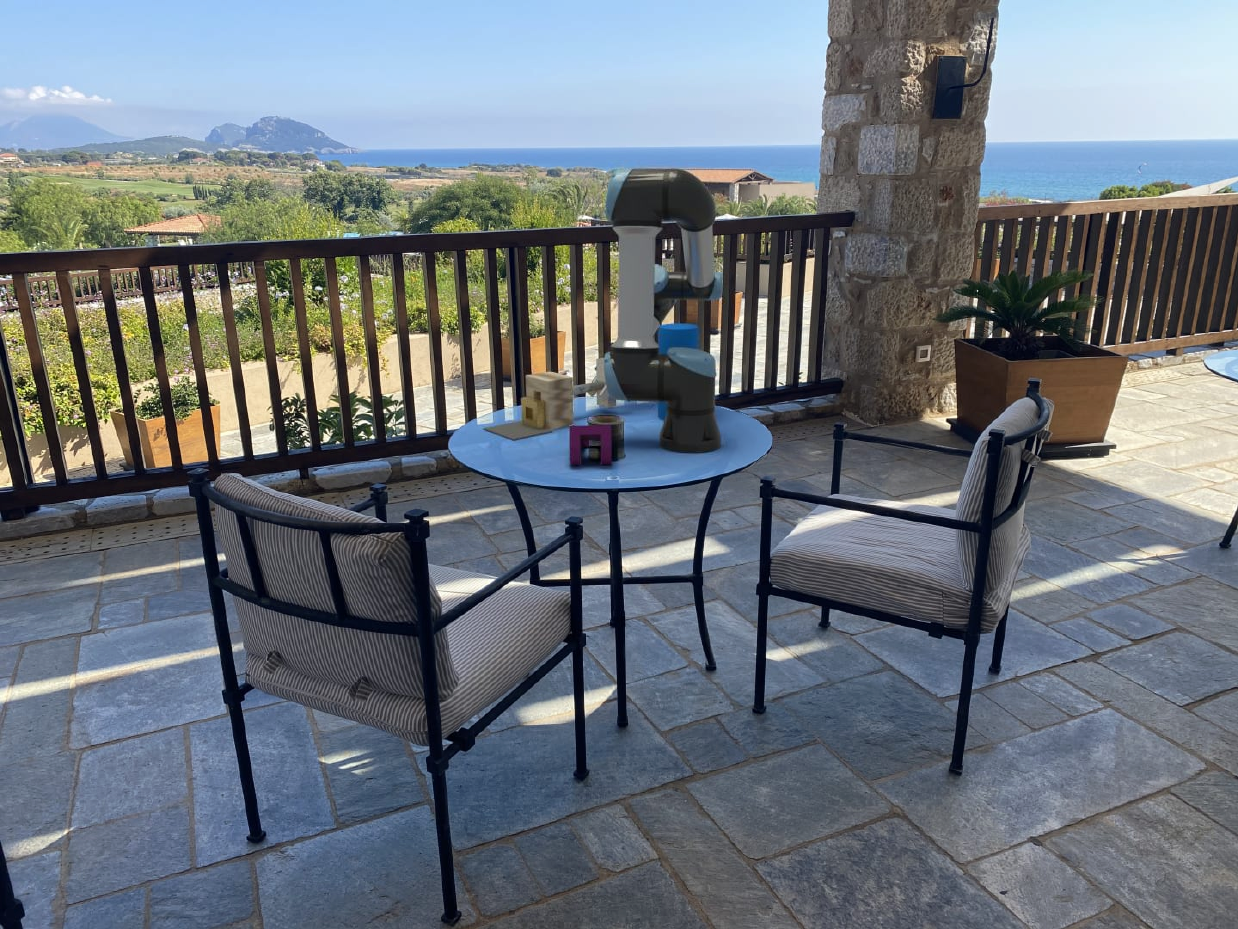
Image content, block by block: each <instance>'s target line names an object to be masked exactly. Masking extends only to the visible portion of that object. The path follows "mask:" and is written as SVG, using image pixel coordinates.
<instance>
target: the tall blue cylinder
mask: <svg viewBox="0 0 1238 929" xmlns="http://www.w3.org/2000/svg"><path fill="white" fill-rule="evenodd" d="M699 335H700V331H699V326H698V325H697V324H692V323H665V324H661V325H660V326H659V327H658V332H657V344H658V345H659V354H667V351H668V349H669V348H673V347H678V348H680V347H684V348H692V349H697V350H699V343H700V342H699V338H700V336H699ZM666 414H667V402H657V418H658V417H659V418H660V419H659V418H658V419H659V420H661V419H662V420H661V421H663V420H665V417H666Z"/></svg>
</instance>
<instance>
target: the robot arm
mask: <svg viewBox="0 0 1238 929" xmlns="http://www.w3.org/2000/svg"><path fill="white" fill-rule="evenodd" d="M606 191H607V192H606V197H605V198H606V199H605V217H606V220H607V221H609V222H610V223H611V222H612V229H613V231H614V232H615V233H616V234H617V235H618V280H617V282H618V283H617V284H618V289H617V290H618V291H617V292H618V295H617V298H618V300H617V303H618V304H617V339H616V340H615V341H614V342H610V344H609V346H608V349H607V350H606V352H604V354H603V355H602V357H601V358H604V374H605V382H606V385H605V387H604V388H603V390H602V391H601V393H600V394H599V395H600V396H601V397H602V398H603V399H604V400H605V401H606V400H607V399H608V398H609V396H611V397H612V398H613V399H615V400H616V401H625V402H629V403H630V402H647V403H648V402H652V403H653V402H654V403H658V402H667V414H666V417H665V420H664V421H663V424H662V427H661V429H660V431H659V432H660V433H659V435H658V436H659V438H658V440H659V446H660V447H662V448H663V449H665V450H669V451H672V452H679V453H706V452H710V451H715V450H716V449H719V448H720V447H721V446H722V445H721V444H722V434H721V432H720V428H719V424H718V421H717V418H716V414H715V412H716V377H717V375H718V374H717V368H716V367H717V366H716V365H717V364H716V359H715V356H714V355H713V354H711V353H709V352H707V351H704V350H701V349H698V350H697V349H692V348H684V347H680V348H678V347H673V348H669V349H668V351H667V354H659V345H658V342H656V340H654V335H655V334H656V332H657V330H659V326H660V325H662V323H663V322H664V321H665V319H666V317H667V316H668V315H669V313H670V312H671V310H672V309H673V308H674V307H675V304H676V302H677V301H678V300H679V301H706V302H708V301H719V300H720V299H721V298H722V297H723V287H724V284H723V283H724V282H723V281H724V278H723V276H724V275H723V273H722V272H717V271H715V255H714V254H715V253H714V238H713V237H714V236H713V235H714V234H713V225H714V223H715V220H716V215H717V210H716V209H717V208H716V203H715V200H714V198H713V195H712V193H711V192H710V189H709V188H708V187H707V186H706V185H705V183H704V182H703V181H701V179H700V178H699V177H697V176H696V175H694V174H693V173H691V172H689V171H688V170H684V169H680V168H638V167H637V168H633V167H632V168H627V169H626V168H625V169H618V170H617V169H616V171H614V172H613V174H612V175H611V177H610V179H609V182H608V186H607V190H606ZM663 222H676V224H677V225H678V227H679V228H680V231H681V238H682V248H683V249H682V250H683V255H684V257H683V258H684V265H685V271H667V269H666V268H665V267H664V266H663V265H660V264H657V263H656V260H655V259H656V237H657V235H658V234H659V233H660V232H661V231H663ZM594 371H596V366H595V367H594ZM593 382H597V381H596V375H595V376H594V377H593V379H592V380H591V383H593ZM586 394H588V395H589V396H590V397H591V398H594V397H595V395H597V391H592V392H587V393H586Z"/></svg>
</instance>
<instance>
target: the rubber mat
mask: <svg viewBox="0 0 1238 929" xmlns="http://www.w3.org/2000/svg"><path fill="white" fill-rule="evenodd" d="M483 430H484V431H486V432H489V433H492V434H494V435H497V436H499V437H503V438H505V439H508V440H510V441H513V442H515V441H518V440H525V439H528V438H533V437H537V436H541V435H546V434H551V433H553V430H548V429H545V428H543V429H538V430H537V429H534V428H531V427H529V426H526V425H523V424H522V419H521V420H516V421H513V422H508V423H503V424H497V425H493V426H487V427H483Z"/></svg>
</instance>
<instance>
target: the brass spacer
mask: <svg viewBox="0 0 1238 929" xmlns="http://www.w3.org/2000/svg"><path fill="white" fill-rule="evenodd" d="M520 404H521V406H520V407H521V408H520V410H521V420H522V424H523V425H526V426H529V427H531V428H534V429H537V430H538V429H543V428H545V406H544V401H542V400H539V399H535V398H532V397H529V396H528V397H526V396H524V397H521V398H520Z"/></svg>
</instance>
